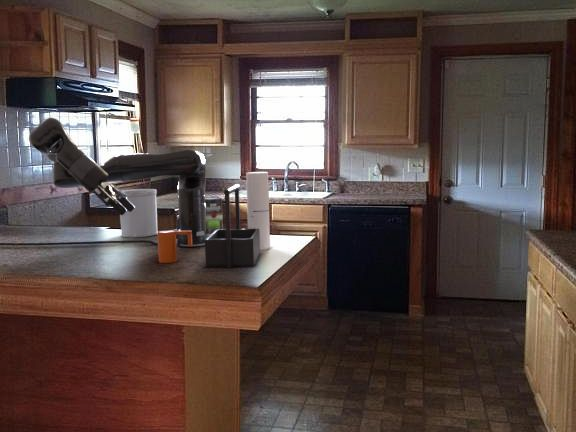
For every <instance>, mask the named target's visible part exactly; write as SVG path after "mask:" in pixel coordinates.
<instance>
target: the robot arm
mask: <svg viewBox="0 0 576 432" xmlns="http://www.w3.org/2000/svg"><path fill="white" fill-rule="evenodd" d="M28 142H29V143H30V145H31V146H32V147H33V148H34V149H35V150H37V151H38V152H40V153H43V154H44V155H45V157H46V158H47V159H48V160H50V161H51V162H53V163H52V183H53V185H54V186H55V187H56V188H61V189H73V188H74V189H75V188H80V187H83V188H84V189H85V190H86V191H87V192H89V193H90V194H94V195H95V196H96V197H97V198H98V199H99V200H100V202H102V203H103V204H104V205H105V206H106V207H110V208H113V209H114V210H115V211H116V212H117V213H118V214H119V216H120V215H124V214H125V212H126V211H127V210H128V211H129V212H131V211H132V210H133V209H134V208H135V206H134V205H133V204H132V203H130V202H129V201H128V200H127V198H126V197H127V196H126V194H124V193H123V192H122V189H120V187H118V186H117V185H116V184H115V183H124V182H137V181H142V180H143V181H144V180H149V179H152V178H157V177H163V176H164V177H165V176H178V185H177V206H178V217H177V218H176V220H175V223H176V228H174V229H172V230H173V231H190V230H191V231H192V246H190V247H188V235H176V246H177V247H183V248H197V247H199V248H200V247H205V239H206V238H207V237H208V236H207V234H206V207H205V197H206V181H207V180H206V178H207V177H206V159H205V156H204V154H203V153H202V152H201V151H199V150H198V149H196V148H183V149H180V150H176V151H171V152H170V151H169V152H166V153H139V152H137V153H125V154H124V153H123V154H117V155H115V156H113V157H111V158H109V159H108V160H106V161H105V162H104V163H102V164H101V165H98V163H96V161H94V160H93V159H92V158H91V157H90V156H89V155H87V154H86V153H85V152H84V151H82V149H81V148H80V147H78V145H77V144H76V143H75V142H74V141H73V139H72V138H71V137H70V135H69V134H68V132H67V130H66V128H65V126H64V125H63V124H62V122H61V121H60V120H59V119H57V118H54V117H47V118H45V120H44V121H42V122H41V123H39V124H38V126H37V127H35V128H34V129H33V130H32V131H31V132H30V133H29V136H28ZM120 196H121V197H120ZM143 243H145V244H152V245H155V246H158V242H156V241H154V240H149V239H148V240H146V239H141V240H140V239H137V240H136V239H135V240H134V239H133V240H97V241H96V240H92V241H89V240H88V241H64V242H63V241H61V242H59V241H58V242H0V246H64V245H65V246H67V245H68V246H69V245H71V246H72V245H97V244H98V245H99V244H143Z"/></svg>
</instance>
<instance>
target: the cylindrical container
mask: <svg viewBox="0 0 576 432" xmlns="http://www.w3.org/2000/svg"><path fill="white" fill-rule="evenodd" d="M245 174H246V175H245V177H246V208H247V209H246V210H247V212H246V213H247V229H259V231H260V251H264V250H270V249H271V234H270V233H271V230H270V228H271V227H270V226H271V225H270V195H269V194H270V192H269V190H270V189H269V172H268V171H251V172H250V171H249V172H246V173H245Z"/></svg>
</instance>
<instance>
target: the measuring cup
mask: <svg viewBox="0 0 576 432" xmlns="http://www.w3.org/2000/svg"><path fill="white" fill-rule="evenodd" d="M173 230H174V229H171V230H168V229H167V230H159V231H157V234H156V235H157V243H158V245H157V253H158V254H157V255H158V263H160V264H173V263H176V262H178V251H177V248H178V246H177V239H176V235H188V247H187V248H191V247H190V246H192V231H191V230H190V231H173Z"/></svg>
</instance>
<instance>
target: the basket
mask: <svg viewBox="0 0 576 432" xmlns="http://www.w3.org/2000/svg"><path fill="white" fill-rule="evenodd" d="M232 193H234V211H235V212H234V213H235V228H231V202H230V199H231V198H230V195H231V194H232ZM223 194H224V217H225V218H224V220H225V228H223V229H216V230H215V231H214V232H213V233H212V234H211V235H209V236H207V238H206V239H205V246H204V257H205V268H207V269H209V268H211V269H212V268H213V269H215V268H226V269H232V268H255V265H256V263H257V261H258V259H259V257H260V255H261V250H260V231H259V229H248V228H241V211H240V184H238V183H236V184H233V185H232V186H230V187H228V188H226V189H224V190H223Z"/></svg>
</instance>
